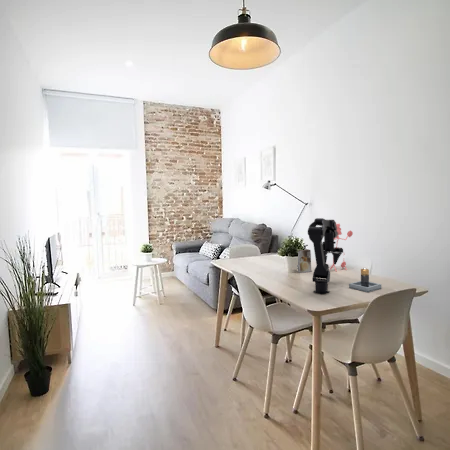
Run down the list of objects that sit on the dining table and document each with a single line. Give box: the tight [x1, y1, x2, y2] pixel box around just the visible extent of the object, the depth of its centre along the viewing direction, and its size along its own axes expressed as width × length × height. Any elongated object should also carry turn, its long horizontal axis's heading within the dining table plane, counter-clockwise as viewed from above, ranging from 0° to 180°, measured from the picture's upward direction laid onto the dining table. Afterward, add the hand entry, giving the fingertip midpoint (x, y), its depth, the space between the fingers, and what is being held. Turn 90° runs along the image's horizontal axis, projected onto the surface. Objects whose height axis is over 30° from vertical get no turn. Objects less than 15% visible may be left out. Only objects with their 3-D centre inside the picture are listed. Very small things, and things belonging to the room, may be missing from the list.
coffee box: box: [297, 248, 312, 274], centre depth 241 cm, size 9×6×16 cm
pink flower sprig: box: [329, 223, 354, 272], centre depth 244 cm, size 15×26×35 cm, turn 111°
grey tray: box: [348, 280, 382, 293], centre depth 192 cm, size 12×12×2 cm
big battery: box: [360, 267, 370, 287], centre depth 192 cm, size 4×4×11 cm
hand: (329, 265), depth 202 cm, fingers open, 9 cm apart
